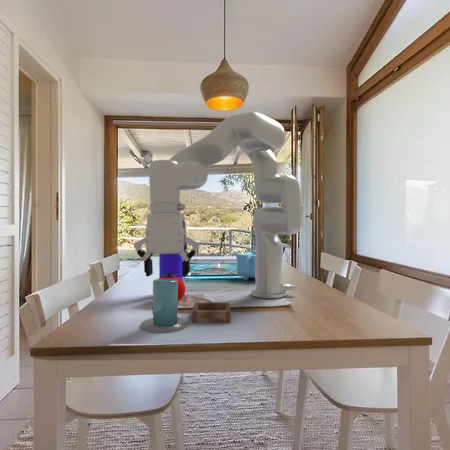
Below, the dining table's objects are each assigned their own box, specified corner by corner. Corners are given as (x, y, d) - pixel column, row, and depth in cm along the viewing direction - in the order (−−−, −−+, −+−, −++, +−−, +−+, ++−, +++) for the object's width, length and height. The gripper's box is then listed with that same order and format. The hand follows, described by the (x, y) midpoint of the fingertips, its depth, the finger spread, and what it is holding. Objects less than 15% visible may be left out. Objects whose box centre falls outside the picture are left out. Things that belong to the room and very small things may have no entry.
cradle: (229, 314, 107) (229, 302, 107) (230, 324, 97) (230, 311, 97) (194, 314, 107) (194, 302, 106) (192, 324, 97) (192, 311, 96)
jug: (157, 319, 98) (157, 278, 98) (180, 320, 97) (180, 278, 97) (143, 331, 88) (143, 285, 88) (168, 332, 87) (168, 286, 87)
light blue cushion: (275, 277, 167) (275, 249, 166) (259, 283, 154) (259, 252, 153) (240, 274, 176) (240, 247, 176) (223, 279, 163) (223, 250, 163)
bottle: (178, 298, 126) (178, 211, 125) (155, 296, 128) (155, 210, 127) (185, 292, 135) (185, 211, 133) (164, 291, 136) (164, 211, 135)
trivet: (189, 320, 101) (189, 316, 100) (186, 334, 89) (186, 330, 88) (145, 320, 100) (145, 316, 100) (136, 334, 88) (136, 330, 88)
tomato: (149, 301, 121) (149, 271, 121) (180, 299, 125) (180, 269, 125) (156, 309, 112) (156, 276, 111) (189, 306, 115) (189, 274, 115)
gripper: (201, 208, 96) (203, 273, 97) (138, 209, 99) (140, 272, 100) (194, 209, 88) (196, 279, 90) (127, 210, 91) (129, 278, 92)
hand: (167, 275), depth 95 cm, fingers open, 9 cm apart
